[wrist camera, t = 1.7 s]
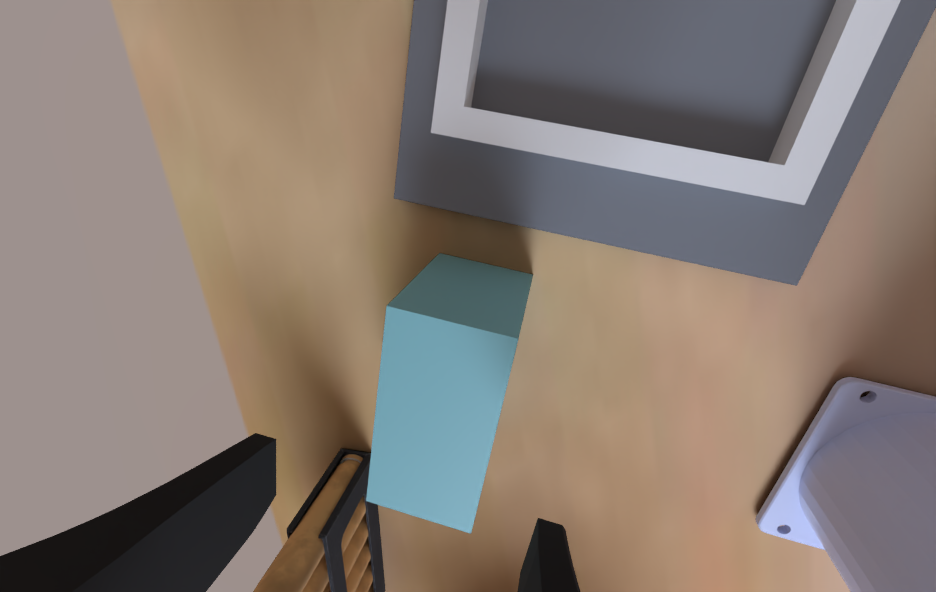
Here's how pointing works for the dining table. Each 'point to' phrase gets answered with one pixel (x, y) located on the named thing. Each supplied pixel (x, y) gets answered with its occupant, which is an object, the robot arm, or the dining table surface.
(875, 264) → the dining table surface
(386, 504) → the light blue rectangular block
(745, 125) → the grey square tray
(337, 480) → the ammunition clip
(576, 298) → the dining table surface
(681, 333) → the dining table surface
